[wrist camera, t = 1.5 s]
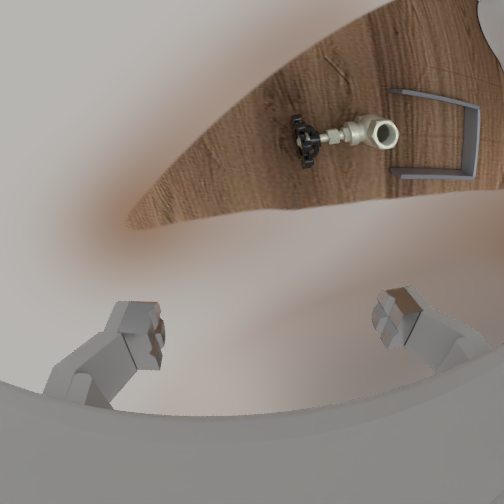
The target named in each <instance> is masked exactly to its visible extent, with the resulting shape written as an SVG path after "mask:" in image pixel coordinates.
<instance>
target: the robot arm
mask: <svg viewBox="0 0 504 504" xmlns="http://www.w3.org/2000/svg"><path fill="white" fill-rule="evenodd" d="M478 18H479V22H480V25H481V28H482V31H483V34H484V36H485V38H486V40H487V42H488V44H489V46H490V48H491V49H492V51H493V52H494V54H495V55H496V57H497V58H498V60H499V62H500V64H501V67H502V69H503V71H504V0H480V1H479V3H478ZM377 300H378V302H379V303H378V304H377V305H376V306H375V307H374V308H373V312H372V323H373V326H374V328H375V330H376V331H378V332H379V333H381V337H380V339H381V340H382V342H383V344H384V345H385V347H386V349H387V350H390V349H395V348H400V347H404V348H405V349H407V350H408V351H409V352H411V353H412V354H413V355H414V356H416V357H417V358H418V359H419V360H421V361H422V362H423V363H425V364H426V365H427V366H429V367H430V368H431V369H432V370H434V371H435V374H434V375H433V376H430V377H428V378H425V379H422V380H420V381H416V382H413V383H411V384H407V385H404V386H402V387H398V388H395V389H392V390H388V391H385V392H381V393H378V394H374V395H370V396H366V397H362V398H358V399H354V400H350V401H345V402H341V403H335V404H330V405H325V406H319V407H313V408H307V409H301V410H293V411H286V412H277V413H267V414H255V415H239V416H171V415H155V414H143V413H134V412H126V411H118V410H114V409H113V408H112V406H111V405H110V402H111V400H112V399H113V398H114V397H115V396H116V394H117V393H118V392H119V391H120V390H121V389H122V388H123V386H124V385H125V384H126V383H127V382H128V381H129V380H130V378H131V377H132V376H133V375H134V374H135V373H136V372H137V370H160V367H161V361H162V353H161V348H162V347H163V346H164V344H165V327H164V322H163V320H162V319H161V318H160V313H161V310H160V306H159V303H158V302H139V301H131V302H130V301H118V302H116V304H115V306H114V308H113V310H112V313H111V315H110V317H109V320H108V322H107V324H106V327H105V329H104V332H99V333H98V334H96V335H95V336H94V337H92V338H91V339H90V340H88V341H87V342H86V343H84V344H83V345H82V346H81V347H79V348H78V349H76V350H75V351H74V352H72V353H71V354H70V355H68V356H67V357H66V358H64V359H63V360H62V361H61V362H60V363H58V364H57V365H55V366H54V367H53V369H52V372H51V374H50V376H49V379H48V381H47V384H46V386H45V389H44V391H43V394H39V393H35V392H32V391H29V390H26V389H23V388H20V387H16V386H14V385H11V384H8V383H5V382H3V381H0V504H504V343H503V344H501V345H499V346H497V347H495V348H493V349H491V347H490V346H489V345H488V343H487V342H486V341H485V339H484V338H483V337H482V336H481V334H480V333H479V332H478V331H477V330H475V329H473V328H472V327H470V326H468V325H466V324H464V323H462V322H460V321H458V320H456V319H454V318H453V317H451V316H449V315H447V314H445V313H443V312H441V311H439V310H437V309H432V307H431V306H430V305H429V304H428V303H427V301H426V300H425V299H424V298H423V296H422V295H421V294H420V293H419V292H418V291H417V290H416V288H415V287H412V286H406V287H401V288H394V289H386V290H381V291H380V292H379V294H378V297H377Z"/></svg>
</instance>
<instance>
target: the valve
mask: <svg viewBox="0 0 504 504" xmlns="http://www.w3.org/2000/svg"><path fill="white" fill-rule="evenodd" d="M299 120H302V118H301V115H300V114H299V115H293V116H292V121H290V124H291V128H292V129H293V131H294V135H293V141H294V143H296V145H297V149H298V150H297V156H298V158H299V159H301V164H302V168H303V169H306V168H311V166H312V165H314V160H313V158H315V157H316V156H317V155H318V152H319V148H318V147H321V142H327V143H328V144H336V143H340V140H343V141H344V142H347V143H348V145H350V146H353V145H358V144H359V142H361V141H363V142H364V143H365V144H367V145H369V146H372V147H376V148H379V149H388V148H394V147H395V145H396V143H397V140H398V137H399V131H398V129H397V128H396V126H395V125H394V123H393V122H392V121H391V120H389V119H384V118H383V117H381V116H379V115H376V114H369V115H361V116H356V117H355V119H354V122H353V121H350V122H345V123H344V125H343V127H342V128H340V130H339V131H338V129H329V130H325V134H319V133H318V131H315V130H314V128H313V127H312V126H310V125H306V123H305V122H304V123H299ZM306 131H310V132H307V133H304V132H306ZM312 149H314V153H311V154H309V151H310V150H312Z"/></svg>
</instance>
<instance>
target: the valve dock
mask: <svg viewBox="0 0 504 504" xmlns="http://www.w3.org/2000/svg"><path fill="white" fill-rule="evenodd" d="M390 93H396V94H404V95H411V96H417V97H423V98H429V99H434V100H439V101H444V102H448V103H453V104H457V105H461V106H465V121H464V142H463V155H462V165H461V170H454V169H433V168H390V172H391V173H393V174H394V175H396V176H397V177H399V178H400V179H459V180H475V175H476V167H477V158H478V148H479V133H480V106H477V105H473V104H470V103H466V102H463V101H459V100H455V99H451V98H446V97H442V96H437V95H433V94H427V93H422V92H416V91H410V90H404V89H390Z"/></svg>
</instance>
